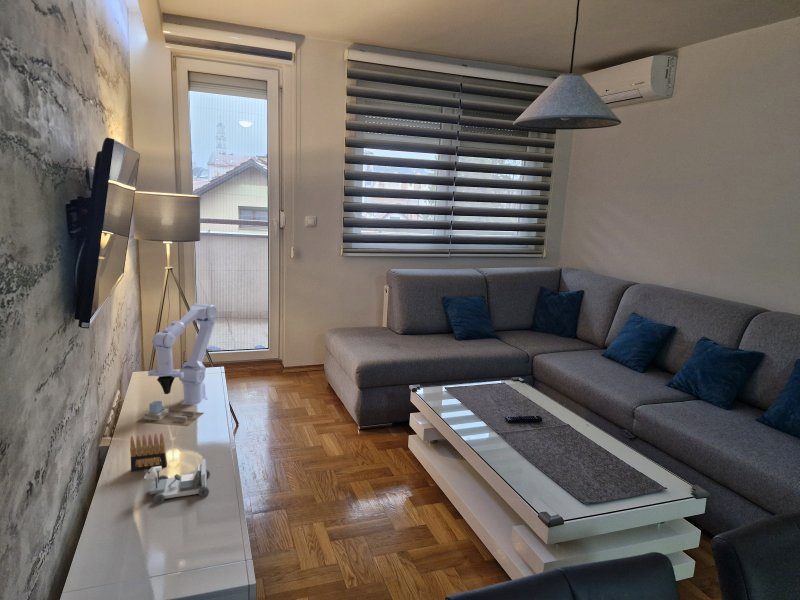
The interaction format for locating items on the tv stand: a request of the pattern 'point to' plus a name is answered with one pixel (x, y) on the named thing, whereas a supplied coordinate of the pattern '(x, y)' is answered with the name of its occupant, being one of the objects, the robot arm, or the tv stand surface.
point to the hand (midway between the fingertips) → (167, 393)
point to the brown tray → (171, 417)
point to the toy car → (178, 483)
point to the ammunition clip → (147, 453)
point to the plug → (155, 407)
